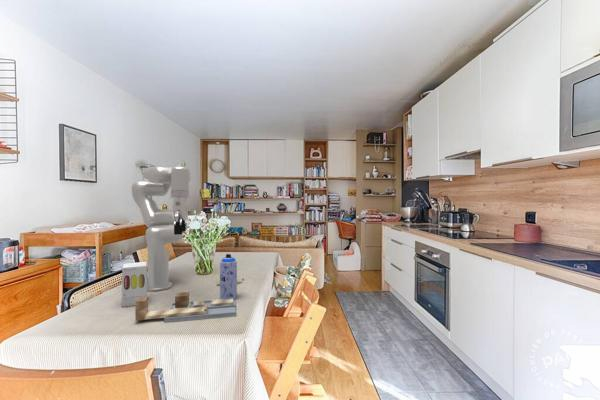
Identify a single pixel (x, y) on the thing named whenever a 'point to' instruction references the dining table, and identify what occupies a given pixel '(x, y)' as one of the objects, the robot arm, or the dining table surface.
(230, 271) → the aerosol can
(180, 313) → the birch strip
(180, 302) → the walnut block
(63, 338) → the dining table surface
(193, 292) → the dining table surface
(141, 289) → the supplement box
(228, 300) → the broken strip
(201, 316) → the slate board
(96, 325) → the dining table surface
